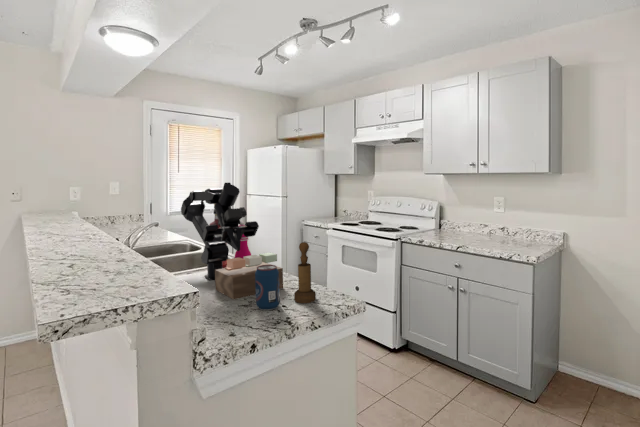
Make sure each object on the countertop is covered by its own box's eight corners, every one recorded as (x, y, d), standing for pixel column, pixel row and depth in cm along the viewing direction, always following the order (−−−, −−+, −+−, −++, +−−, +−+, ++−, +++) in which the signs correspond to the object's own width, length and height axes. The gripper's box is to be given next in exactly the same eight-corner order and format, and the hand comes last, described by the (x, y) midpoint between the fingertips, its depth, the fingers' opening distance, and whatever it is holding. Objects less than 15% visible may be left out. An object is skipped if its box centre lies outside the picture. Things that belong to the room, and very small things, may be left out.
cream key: (243, 263, 124) (243, 256, 124) (255, 261, 127) (255, 254, 127) (250, 266, 121) (249, 258, 121) (261, 263, 124) (261, 256, 123)
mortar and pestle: (299, 304, 110) (298, 245, 109) (291, 298, 116) (289, 241, 114) (319, 301, 113) (318, 242, 112) (310, 295, 119) (308, 239, 117)
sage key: (259, 261, 128) (259, 254, 128) (270, 259, 131) (270, 252, 131) (266, 263, 125) (265, 256, 124) (277, 261, 127) (277, 254, 127)
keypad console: (215, 289, 127) (214, 268, 126) (262, 280, 138) (262, 260, 138) (233, 299, 116) (232, 276, 115) (283, 288, 127) (282, 267, 127)
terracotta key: (227, 266, 121) (226, 259, 120) (239, 264, 123) (239, 257, 123) (232, 269, 117) (232, 261, 117) (245, 266, 120) (245, 259, 120)
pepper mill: (248, 270, 153) (246, 222, 151) (231, 270, 155) (229, 222, 153) (254, 266, 160) (253, 220, 158) (239, 266, 162) (237, 220, 160)
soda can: (252, 305, 110) (251, 266, 109) (274, 301, 114) (273, 263, 112) (261, 312, 104) (259, 271, 103) (283, 308, 107) (282, 267, 106)
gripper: (203, 201, 122) (216, 238, 114) (255, 198, 133) (270, 232, 125) (197, 223, 129) (209, 259, 121) (247, 219, 140) (261, 252, 132)
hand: (238, 250), depth 125 cm, fingers closed
